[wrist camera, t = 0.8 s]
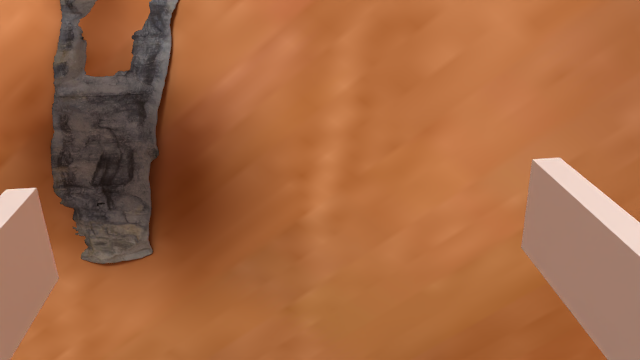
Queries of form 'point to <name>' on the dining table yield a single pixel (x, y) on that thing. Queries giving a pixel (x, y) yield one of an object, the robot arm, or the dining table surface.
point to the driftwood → (108, 135)
